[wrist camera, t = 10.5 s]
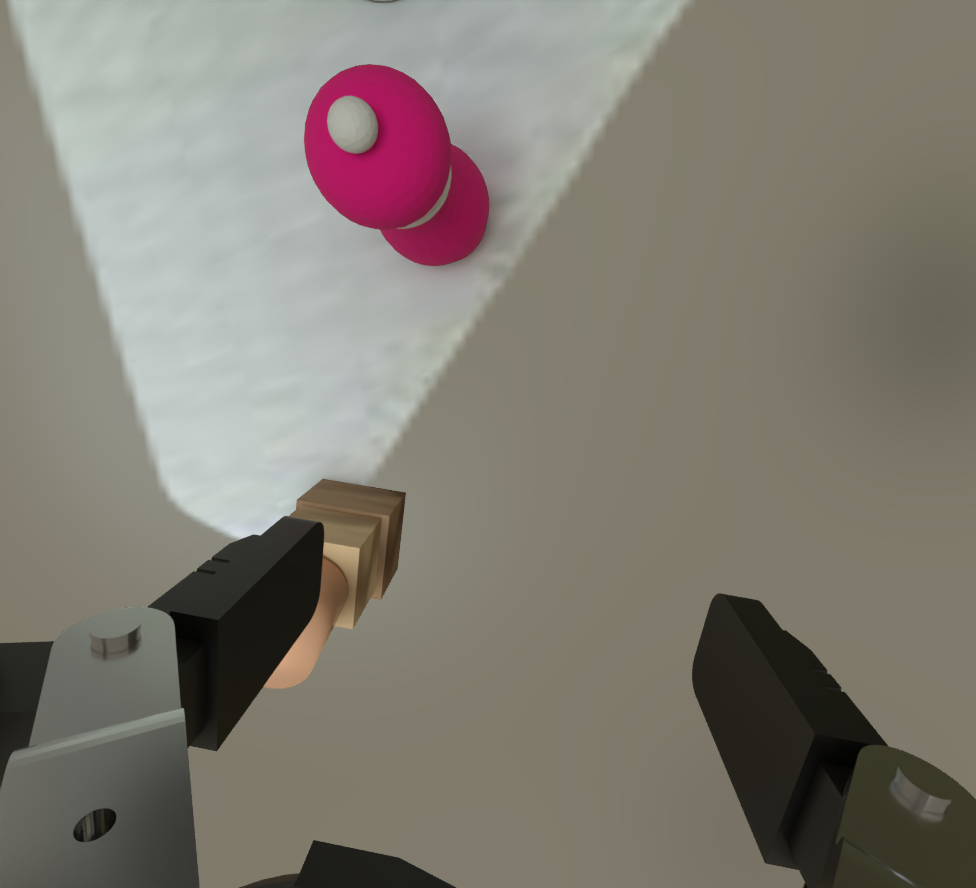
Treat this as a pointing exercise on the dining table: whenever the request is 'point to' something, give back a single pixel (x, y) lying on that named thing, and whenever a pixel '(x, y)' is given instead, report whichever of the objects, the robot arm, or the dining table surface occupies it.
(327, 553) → the tower top
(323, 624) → the rounded stamp handle
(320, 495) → the tower base
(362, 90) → the pepper mill
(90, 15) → the dining table surface
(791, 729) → the robot arm
